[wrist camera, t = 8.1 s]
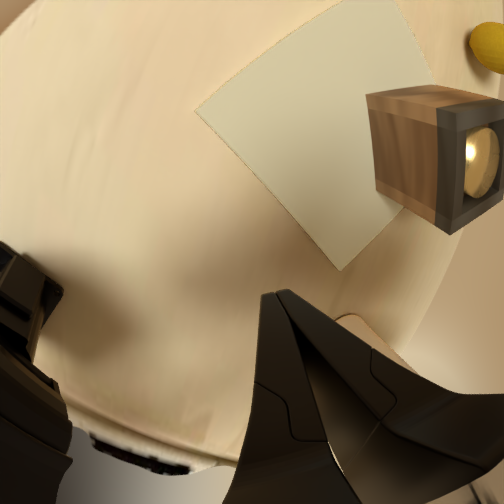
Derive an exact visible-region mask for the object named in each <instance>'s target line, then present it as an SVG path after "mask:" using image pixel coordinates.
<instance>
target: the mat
mask: <svg viewBox="0 0 504 504" xmlns="http://www.w3.org/2000/svg"><path fill="white" fill-rule="evenodd" d="M430 84H432V85H436V83H435V80H434V78H433V75H432V73H431V70H430V68H429V66H428V64H427V61H426V59H425V57H424V55H423V52H422V50H421V48H420V46H419V44H418V42H417V40H416V38H415V36H414V34H413V32H412V30H411V28H410V26H409V25H408V23H407V21H406V19H405V17H404V15H403V14H402V12H401V10H400V8H399V7H398V5H397V3H396V2H395V0H342V1H341V2H339V3H337V4H335V5H334V6H332V7H330V8H329V9H327V10H325V11H324V12H322V13H321V14H319V15H317V16H316V17H314V18H313V19H311V20H309V21H308V22H306V23H305V24H303V25H302V26H300V27H299V28H297V29H296V30H294V31H293V32H292V33H290V34H289V35H287V36H286V37H284V38H283V39H282V40H280V41H279V42H277V43H276V44H275V45H273V46H272V47H270V48H269V49H268V50H266V51H265V52H264V53H262V54H261V55H260V56H258V57H257V58H256V59H255V60H253V61H252V62H251V63H249V64H248V65H247V66H246V67H244V68H243V69H242V70H241V71H239V72H238V73H237V74H236V75H235V76H233V77H232V78H231V79H230V80H229V81H227V82H226V83H225V84H224V85H223V86H222V87H220V88H219V89H218V90H217V91H216V92H215V93H213V94H212V95H211V96H210V97H209V98H208V99H207V100H206V101H205V102H203V103H202V104H201V105H200V106H199V107H198V108H197V109H196V110H195V112H196V113H197V114H198V115H199V116H200V117H201V118H202V119H203V120H204V121H205V123H206V124H207V125H208V126H209V127H210V128H211V129H212V130H213V131H214V132H215V133H216V134H217V135H218V136H219V137H220V138H221V139H222V140H223V141H224V142H225V143H226V144H227V145H228V146H229V147H230V148H231V149H232V151H233V152H234V153H235V154H236V155H237V156H238V157H239V158H240V159H241V160H242V161H243V162H244V163H245V164H246V165H247V167H248V168H249V169H250V170H251V171H252V172H253V173H254V174H255V175H256V176H257V177H258V178H259V180H260V181H261V182H262V183H263V184H264V185H265V186H266V187H267V188H268V190H269V191H270V192H271V193H272V194H273V195H274V196H275V197H276V198H277V200H278V201H279V202H280V203H281V204H282V205H283V206H284V207H285V209H286V210H287V211H288V212H289V213H290V214H291V215H292V216H293V218H294V219H295V220H296V221H297V222H298V223H299V225H300V226H301V227H302V228H303V229H304V230H305V231H306V233H307V234H308V235H309V236H310V237H311V238H312V240H313V241H314V242H315V243H316V244H317V246H318V247H319V248H320V249H321V250H322V251H323V253H324V254H325V255H326V256H327V257H328V259H329V260H330V261H331V262H332V263H333V265H334V266H335V267H336V268H337V269H338V270H339V271H341V270H342V269H343V268H344V267H345V266H347V265H348V264H349V263H350V262H351V261H352V260H353V259H354V258H355V257H356V256H357V255H358V254H359V253H360V252H361V251H362V250H363V249H364V248H365V247H366V246H367V245H368V244H369V243H370V242H371V241H372V240H373V239H374V238H375V237H376V236H377V235H378V234H379V233H380V232H381V231H382V230H383V229H384V228H385V227H386V226H387V225H388V224H389V223H390V222H391V221H392V219H393V218H394V217H395V216H396V215H397V214H398V213H399V212H400V211H401V210H402V209H403V208H404V206H402V205H400V204H399V203H397V202H395V201H394V200H392V199H390V198H388V197H387V196H385V195H383V194H381V193H380V192H378V191H376V186H375V172H374V160H373V150H372V140H371V131H370V123H369V116H368V109H367V102H366V96H365V94H370V93H375V92H381V91H387V90H393V89H400V88H406V87H414V86H422V85H430Z"/></svg>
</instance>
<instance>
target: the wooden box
mask: <svg viewBox="0 0 504 504" xmlns="http://www.w3.org/2000/svg"><path fill="white" fill-rule="evenodd" d="M365 96H366V102H367V109H368V116H369V123H370V131H371V140H372V150H373V160H374V172H375V186H376V191H378V192H380V193H381V194H383V195H385V196H387V197H388V198H390V199H392V200H394V201H395V202H397V203H399V204H400V205H402V206H404V207H406V208H407V209H409V210H411V211H412V212H414V213H415V214H417V215H419V216H420V217H422V218H424V219H425V220H427V221H428V222H430V223H432V224H433V225H435V226H436V227H438V228H439V229H441V230H442V231H444V232H445V233H447V234H448V235H451V234H453V233H454V232H456V231H458V230H459V229H461V228H462V227H464V226H465V225H467V224H468V223H470V222H471V221H473V220H474V219H476V218H477V217H478V216H480V215H482V214H483V213H484V212H486V211H487V210H489V209H490V208H491V207H493V206H494V205H496V204H497V203H499V202H500V201H501V200H503V194H504V101H501V100H498V99H495V98H491V97H487V96H483V95H480V94H475V93H471V92H467V91H463V90H458V89H453V88H448V87H443V86H438V85H432V84H430V85H422V86H414V87H406V88H400V89H393V90H387V91H381V92H375V93H370V94H365ZM480 125H481V126H484V127H487V128H490V129H492V130H493V131H494V132H495V133H496V135H497V138H498V141H499V149H500V155H499V164H498V169H497V172H496V175H495V178H494V181H493V183H492V185H491V186H490V188H489V189H488V191H487V192H486V193H485V194H484V195H483V196H482V197H480V198H473V197H472V196H470V195H468V194H466V193H464V182H465V167H466V129H470V128H473V127H477V126H480Z"/></svg>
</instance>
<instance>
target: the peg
mask: <svg viewBox="0 0 504 504" xmlns="http://www.w3.org/2000/svg"><path fill="white" fill-rule="evenodd" d="M499 155H500V149H499V141H498V138H497V135H496V133H495V132H494V131H493V130H492V129H490V128H487V127H484V126H481V125H480V126H477V127H473V128H470V129H466V167H465V182H464V193H466V194H468V195H470V196H472V197H473V198H480V197H482V196H483V195H484V194H485V193H486V192H487V191H488V189H489V188H490V186H491V185H492V183H493V181H494V178H495V175H496V172H497V169H498V164H499Z"/></svg>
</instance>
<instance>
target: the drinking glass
mask: <svg viewBox="0 0 504 504" xmlns="http://www.w3.org/2000/svg"><path fill="white" fill-rule="evenodd" d="M335 322H337V323H338V324H340V325H341V326H343V327H344V328H346V329H347V330H348V331H350V332H351V333H353V334H354V335H356V336H357V337H359V338H360V339H362V340H363V341H364V342H366V343H367V344H369V345H370V346H372V348H375V349H376V350H378V351H379V352H381V353H382V354H384V355H385V356H387V357H388V358H390V359H391V360H393V361H394V362H396V363H398V364H399V365H401V366H403V367H405V368H407V369H408V370H410V371H412V372H414V373H416V374H418V373H417V372H416V371H415V370H413V369H412V368H411V367H410V366H409V365H408V364H407V363H406V362H405V361H404V360H403V359H402V358H401V357H400V356H399V355H398V354H397V353H396V352H395V351H394V350H393V349H391V348H390V347H389V346H388V345H387V344H386V343H385V342H384V341H383V340H382V339H381V338H380V337H379V336H378V335H377V334H376V333H375V332H374V331H373V330H372V329H371V328H370V327H369V326H368V325H367V324H366V323H365V322H364V321H363V319H362V318H360V317H359V316H357V315H347V316H344V317H341V318H339V319H338V320H336V321H335ZM418 375H419V374H418ZM419 376H420V375H419Z"/></svg>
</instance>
